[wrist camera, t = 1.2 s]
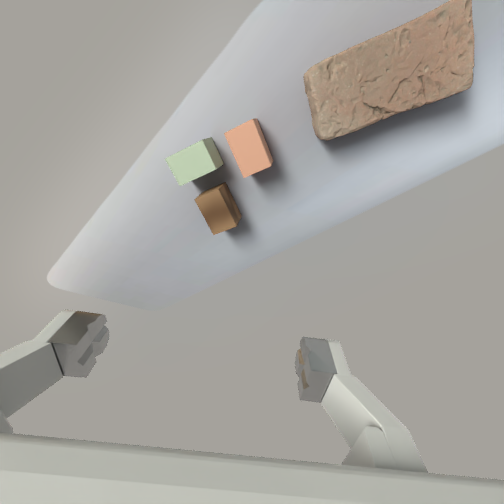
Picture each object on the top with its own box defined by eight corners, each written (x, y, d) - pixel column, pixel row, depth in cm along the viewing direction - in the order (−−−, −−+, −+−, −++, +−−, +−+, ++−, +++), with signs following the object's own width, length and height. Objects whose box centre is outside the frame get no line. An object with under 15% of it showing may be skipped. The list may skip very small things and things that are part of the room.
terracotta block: (231, 131, 36) (224, 133, 32) (256, 118, 35) (252, 118, 31) (248, 171, 39) (243, 178, 35) (273, 160, 37) (271, 166, 33)
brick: (317, 141, 36) (321, 145, 31) (300, 73, 32) (302, 67, 28) (452, 90, 31) (477, 86, 27) (449, 5, 28) (477, -14, 24)
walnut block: (203, 191, 41) (194, 199, 37) (225, 181, 40) (218, 189, 36) (220, 224, 43) (213, 234, 39) (241, 215, 42) (236, 226, 38)
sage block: (211, 137, 37) (202, 139, 33) (223, 163, 39) (216, 169, 35) (177, 154, 39) (164, 158, 35) (190, 179, 40) (179, 186, 36)
